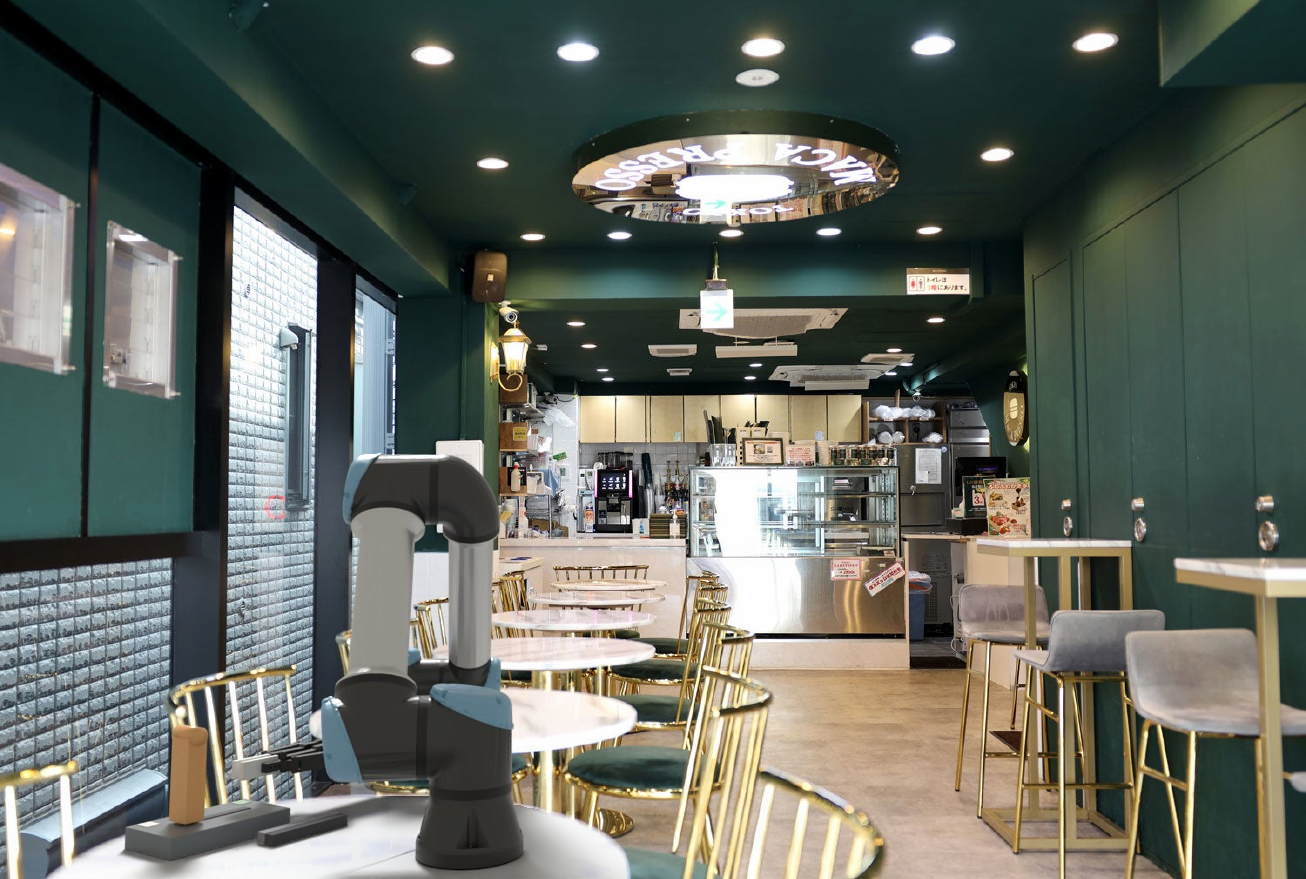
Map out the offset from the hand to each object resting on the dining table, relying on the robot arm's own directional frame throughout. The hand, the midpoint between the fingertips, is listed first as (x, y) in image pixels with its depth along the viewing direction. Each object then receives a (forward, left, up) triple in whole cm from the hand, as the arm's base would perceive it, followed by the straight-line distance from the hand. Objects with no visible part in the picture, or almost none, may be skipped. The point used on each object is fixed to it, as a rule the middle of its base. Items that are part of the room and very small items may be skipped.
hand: (237, 770), depth 162 cm
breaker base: (0, +4, -9) cm, 10 cm away
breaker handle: (0, +8, -6) cm, 10 cm away
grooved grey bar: (-10, -5, -9) cm, 14 cm away
